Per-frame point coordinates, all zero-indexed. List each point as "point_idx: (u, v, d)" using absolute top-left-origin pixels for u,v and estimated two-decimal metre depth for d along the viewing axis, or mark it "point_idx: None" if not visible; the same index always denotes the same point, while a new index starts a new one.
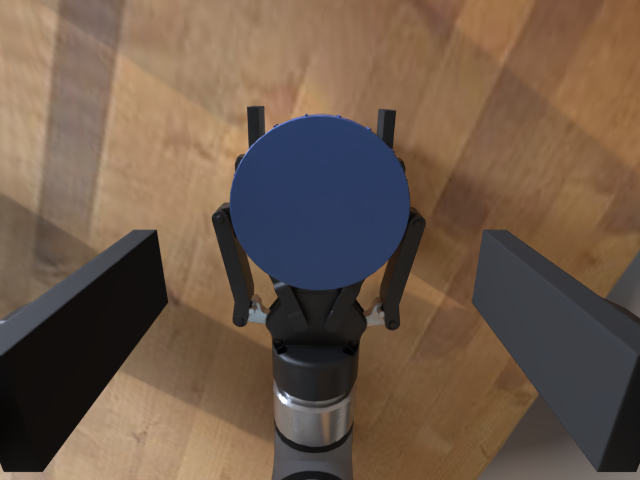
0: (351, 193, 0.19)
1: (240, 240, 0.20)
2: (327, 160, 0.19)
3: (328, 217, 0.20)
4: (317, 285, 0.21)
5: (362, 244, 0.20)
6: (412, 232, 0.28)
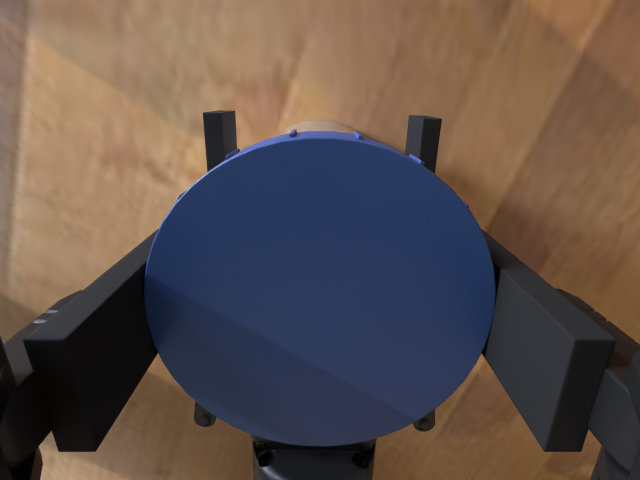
0: (383, 287, 0.10)
1: (169, 368, 0.11)
2: (335, 225, 0.09)
3: (336, 328, 0.10)
4: (315, 439, 0.12)
5: (399, 374, 0.11)
6: None
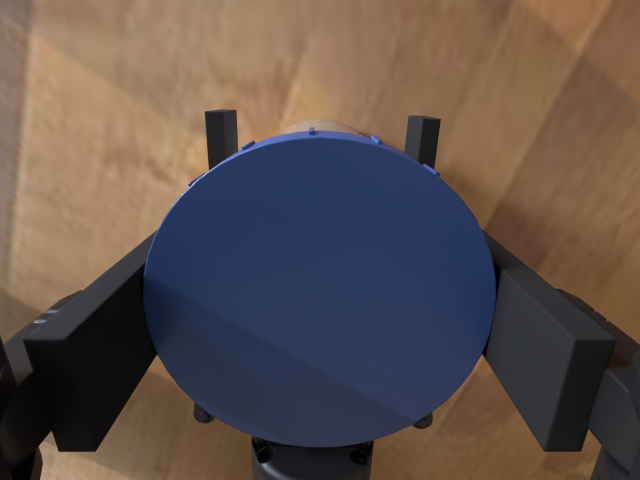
0: (279, 263, 0.09)
1: (384, 434, 0.11)
2: (221, 311, 0.10)
3: (333, 301, 0.10)
4: (483, 311, 0.10)
5: (390, 231, 0.09)
6: None
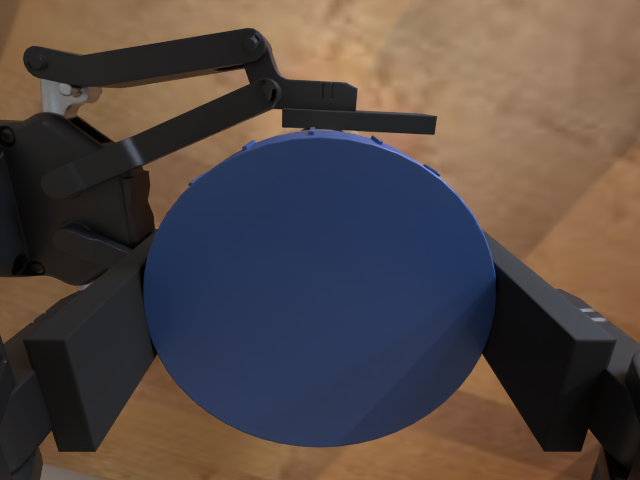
0: (279, 262, 0.09)
1: (383, 434, 0.11)
2: (221, 311, 0.10)
3: (333, 301, 0.10)
4: (483, 311, 0.10)
5: (390, 231, 0.09)
6: None
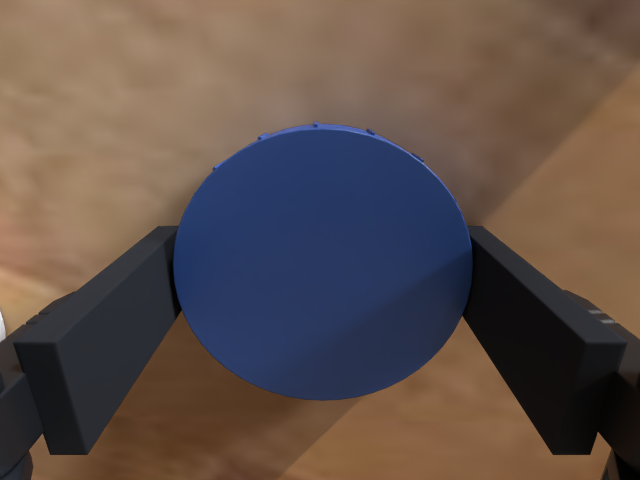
0: (288, 235, 0.11)
1: (378, 389, 0.13)
2: (239, 277, 0.12)
3: (333, 269, 0.12)
4: (462, 278, 0.12)
5: (381, 208, 0.11)
6: None
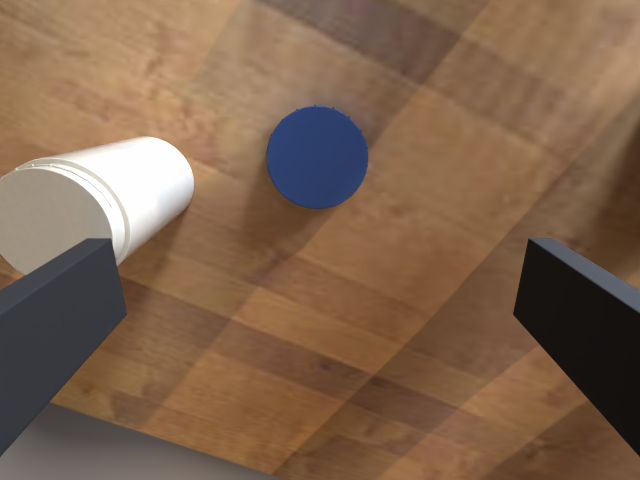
0: (306, 142, 0.34)
1: (338, 203, 0.36)
2: (289, 157, 0.35)
3: (321, 154, 0.35)
4: (364, 157, 0.35)
5: (336, 132, 0.34)
6: None
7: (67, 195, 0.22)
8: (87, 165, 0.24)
